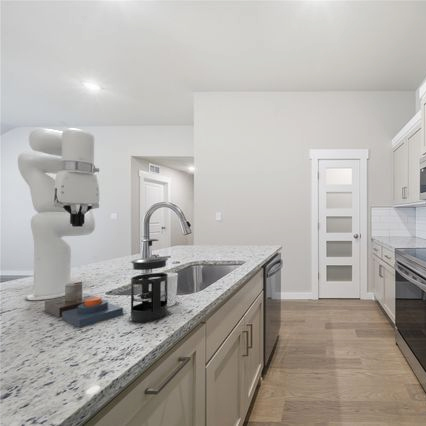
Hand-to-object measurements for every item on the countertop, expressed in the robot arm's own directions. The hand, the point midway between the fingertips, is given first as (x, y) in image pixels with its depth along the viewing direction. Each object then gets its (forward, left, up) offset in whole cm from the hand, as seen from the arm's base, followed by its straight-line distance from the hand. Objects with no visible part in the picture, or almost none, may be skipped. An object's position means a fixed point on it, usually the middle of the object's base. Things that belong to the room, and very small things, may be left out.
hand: (77, 226), depth 81 cm
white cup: (+20, +16, -27) cm, 37 cm away
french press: (+27, +8, -27) cm, 39 cm away
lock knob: (-2, 0, -24) cm, 24 cm away
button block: (+12, 0, -27) cm, 29 cm away
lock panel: (-2, 0, -27) cm, 27 cm away
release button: (+12, 0, -23) cm, 26 cm away
